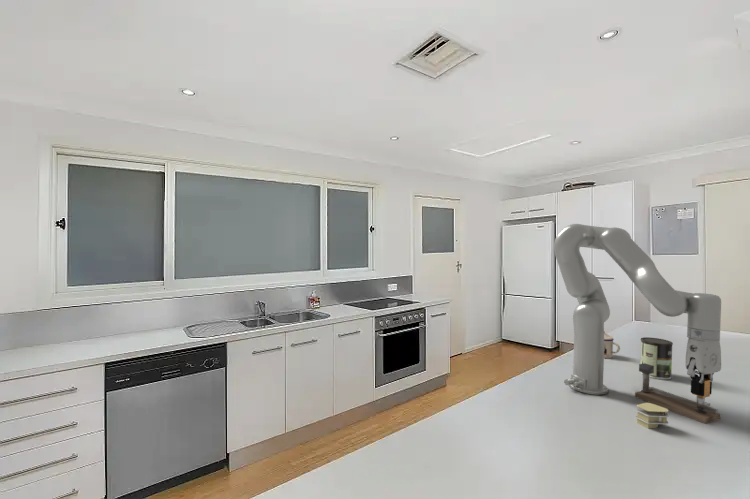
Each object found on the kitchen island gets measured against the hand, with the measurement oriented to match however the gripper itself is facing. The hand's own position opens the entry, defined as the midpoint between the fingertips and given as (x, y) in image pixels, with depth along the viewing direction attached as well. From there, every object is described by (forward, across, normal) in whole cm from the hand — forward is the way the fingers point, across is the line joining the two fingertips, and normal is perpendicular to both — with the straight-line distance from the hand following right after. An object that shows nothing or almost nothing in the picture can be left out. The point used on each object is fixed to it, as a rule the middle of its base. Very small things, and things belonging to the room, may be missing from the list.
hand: (701, 393), depth 113 cm
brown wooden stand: (+7, 0, +7) cm, 10 cm away
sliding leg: (+5, +1, 0) cm, 5 cm away
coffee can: (+7, +26, +28) cm, 39 cm away
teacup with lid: (+7, +30, +52) cm, 60 cm away
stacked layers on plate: (+8, -20, +2) cm, 22 cm away
